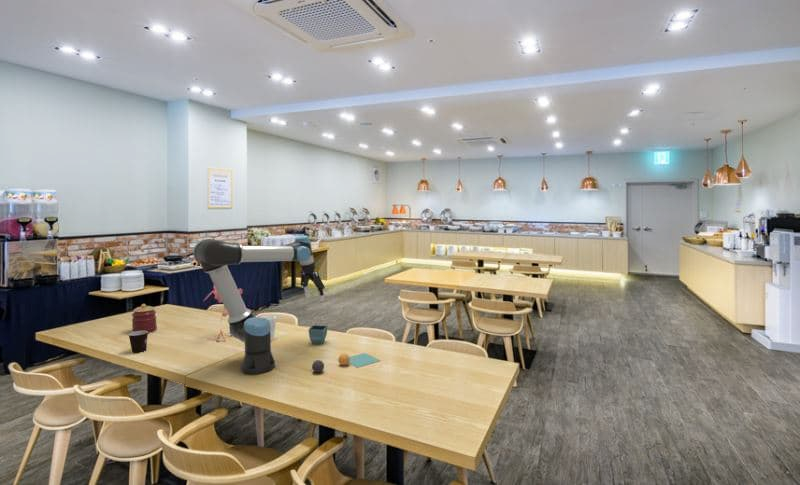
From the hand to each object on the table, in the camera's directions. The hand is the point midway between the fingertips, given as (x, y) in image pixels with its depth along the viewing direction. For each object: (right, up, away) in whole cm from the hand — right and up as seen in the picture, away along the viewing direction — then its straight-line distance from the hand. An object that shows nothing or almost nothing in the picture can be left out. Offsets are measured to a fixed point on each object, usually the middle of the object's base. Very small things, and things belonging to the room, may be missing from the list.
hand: (315, 299), depth 226 cm
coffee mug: (-92, -27, -10) cm, 96 cm away
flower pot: (+1, -26, +2) cm, 26 cm away
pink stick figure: (-57, -25, +11) cm, 64 cm away
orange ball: (+21, -25, -31) cm, 45 cm away
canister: (-112, -24, +24) cm, 117 cm away
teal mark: (+28, -27, -25) cm, 47 cm away
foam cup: (-29, -25, +8) cm, 40 cm away
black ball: (+10, -26, -40) cm, 48 cm away
